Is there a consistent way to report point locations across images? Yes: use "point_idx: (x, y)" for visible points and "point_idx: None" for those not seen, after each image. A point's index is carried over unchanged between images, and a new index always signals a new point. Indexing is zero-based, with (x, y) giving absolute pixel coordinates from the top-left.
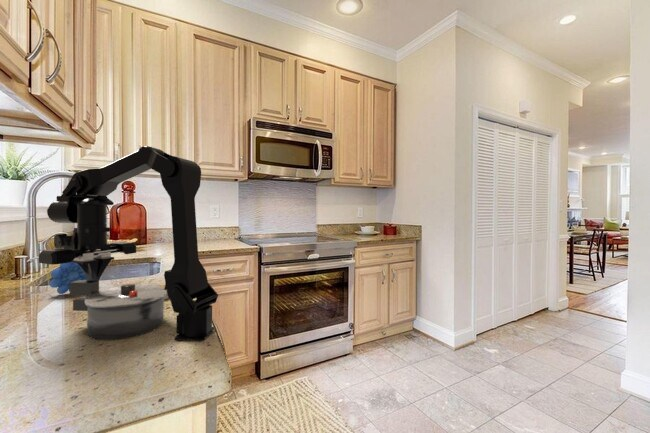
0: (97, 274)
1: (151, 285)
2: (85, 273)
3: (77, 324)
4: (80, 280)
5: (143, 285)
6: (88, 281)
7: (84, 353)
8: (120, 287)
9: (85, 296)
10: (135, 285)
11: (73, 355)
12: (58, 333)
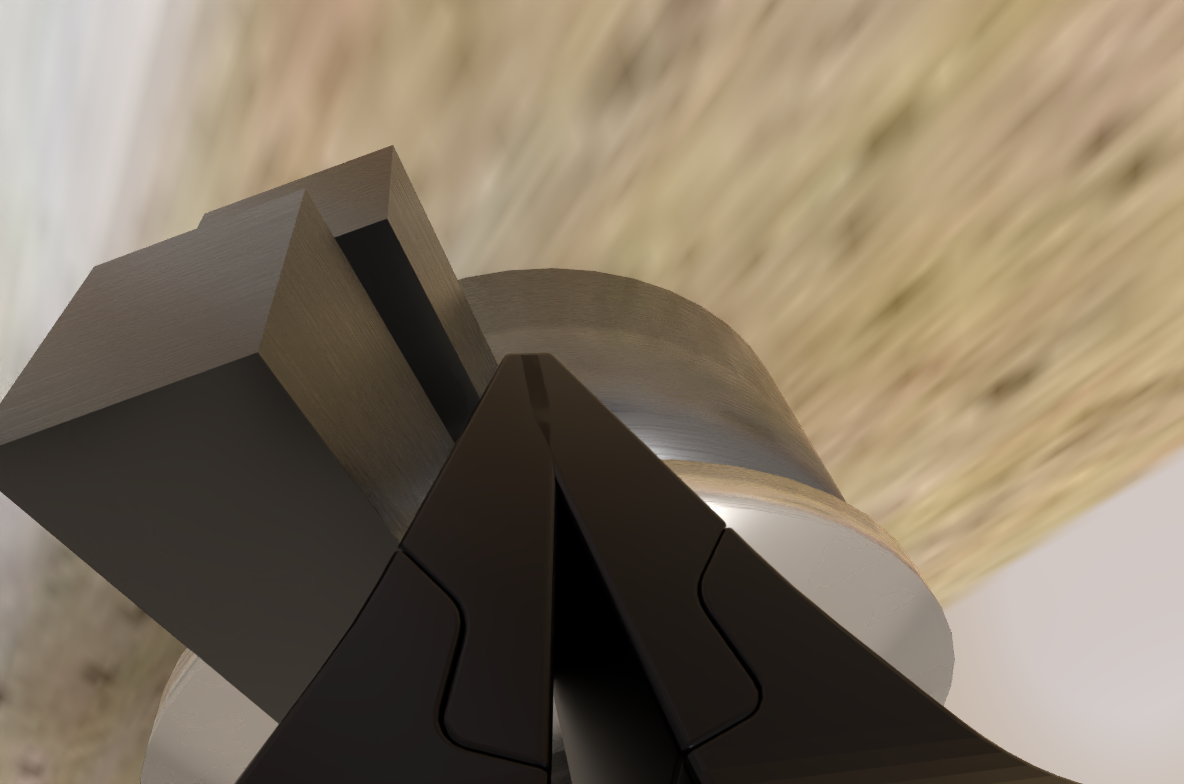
0: (563, 720)
1: (932, 689)
2: (387, 602)
3: (332, 50)
4: (280, 414)
5: (920, 644)
6: (345, 631)
7: (130, 661)
8: (764, 551)
9: (397, 250)
10: (905, 591)
11: (71, 646)
12: (81, 166)
